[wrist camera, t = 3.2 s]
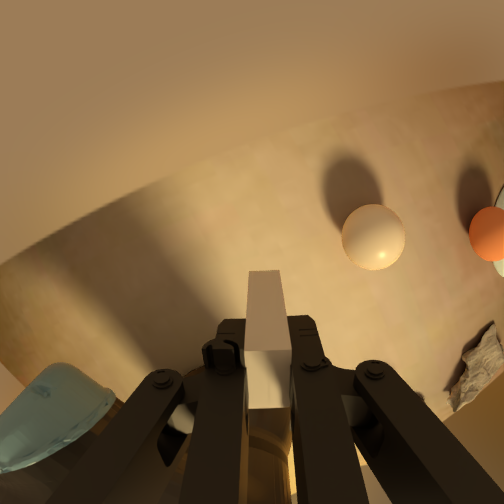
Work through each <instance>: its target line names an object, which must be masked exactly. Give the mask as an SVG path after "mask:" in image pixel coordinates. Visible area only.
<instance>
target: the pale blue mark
mask: <svg viewBox="0 0 504 504" xmlns="http://www.w3.org/2000/svg"><path fill="white" fill-rule="evenodd" d="M495 207H498V208H501V209H503V210H504V187H503V189H502V191H501V193H500V195H499V197H498V199H497V202H496V205H495ZM493 264H494V266H495V268H496V270H497V272H498V273H499V274H500V275H501V276H502V277H504V259H502V260H499V261H493Z"/></svg>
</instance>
